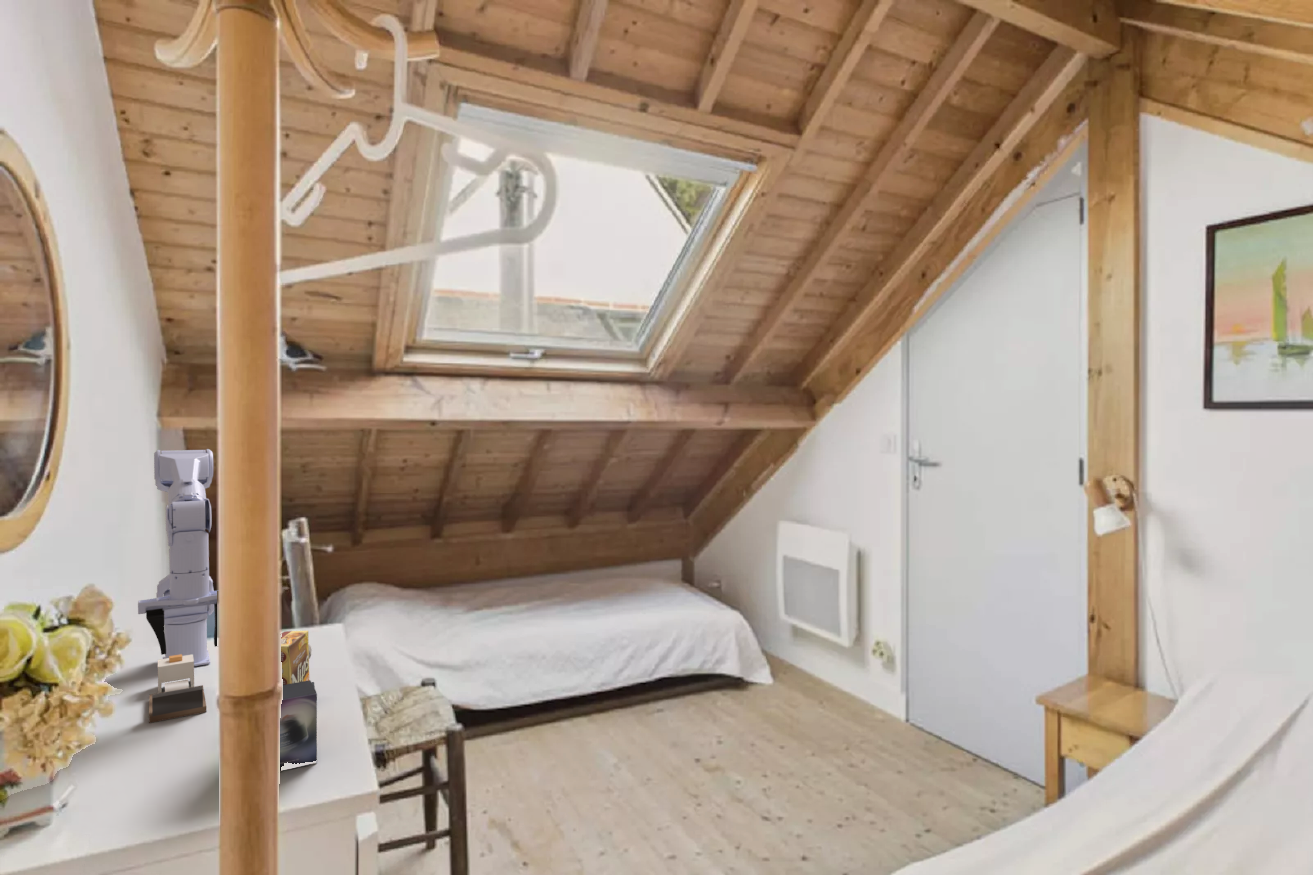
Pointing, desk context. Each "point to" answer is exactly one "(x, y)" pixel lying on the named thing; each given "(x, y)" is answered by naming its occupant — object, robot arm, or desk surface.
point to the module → (175, 669)
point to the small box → (298, 723)
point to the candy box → (295, 656)
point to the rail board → (176, 701)
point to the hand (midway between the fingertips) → (190, 648)
